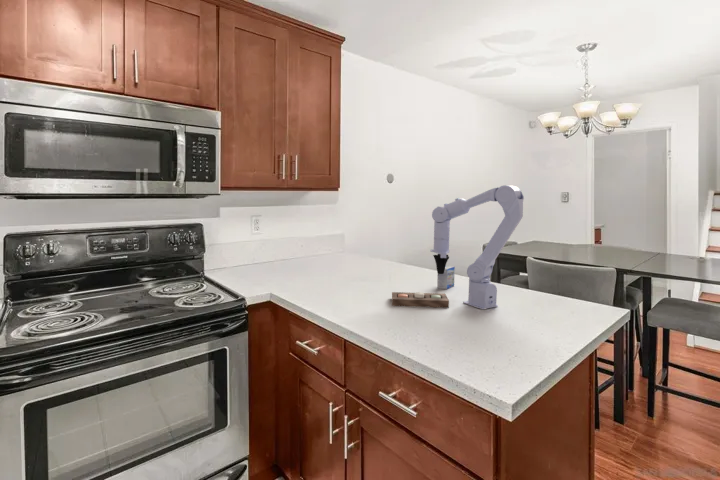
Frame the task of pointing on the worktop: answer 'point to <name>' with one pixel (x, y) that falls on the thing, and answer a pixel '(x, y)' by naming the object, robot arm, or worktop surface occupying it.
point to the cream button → (418, 295)
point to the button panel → (420, 300)
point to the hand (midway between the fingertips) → (440, 273)
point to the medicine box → (446, 278)
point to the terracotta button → (403, 295)
